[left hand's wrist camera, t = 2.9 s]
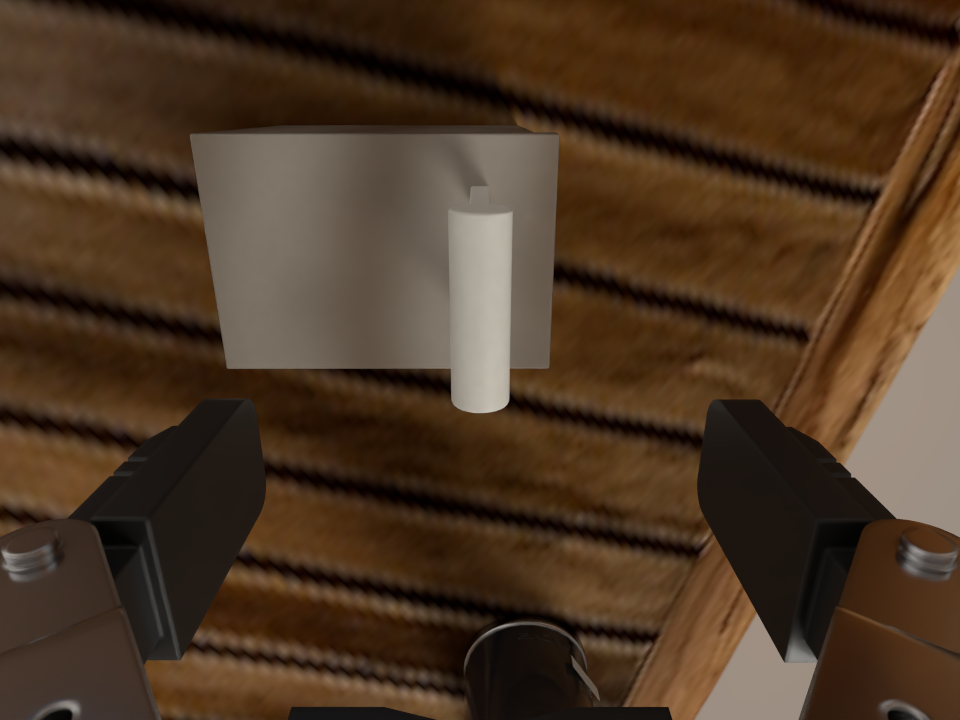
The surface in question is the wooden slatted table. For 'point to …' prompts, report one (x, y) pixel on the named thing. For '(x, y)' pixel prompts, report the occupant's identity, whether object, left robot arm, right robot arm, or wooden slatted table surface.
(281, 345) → the lid
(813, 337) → the wooden slatted table surface
